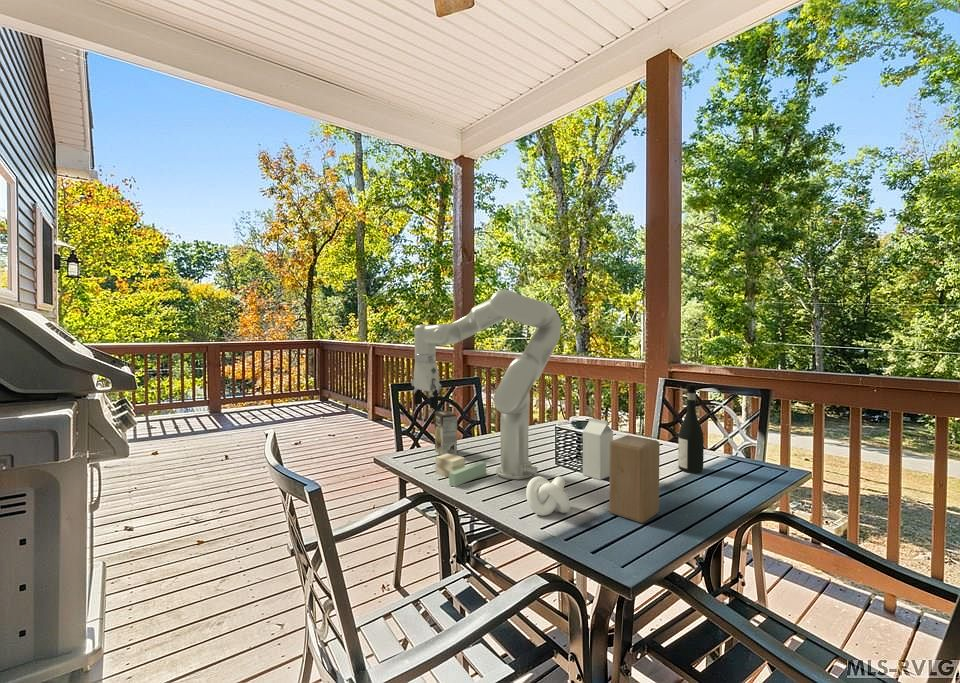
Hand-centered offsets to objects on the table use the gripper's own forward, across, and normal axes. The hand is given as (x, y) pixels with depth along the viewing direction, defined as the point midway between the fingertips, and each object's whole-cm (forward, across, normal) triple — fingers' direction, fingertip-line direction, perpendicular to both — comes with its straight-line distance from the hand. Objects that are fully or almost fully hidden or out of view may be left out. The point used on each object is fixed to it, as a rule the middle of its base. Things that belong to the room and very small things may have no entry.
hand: (425, 405), depth 166 cm
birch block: (+22, -14, 0) cm, 26 cm away
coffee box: (+22, +8, -15) cm, 28 cm away
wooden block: (+22, -73, -16) cm, 78 cm away
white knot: (+22, -56, -1) cm, 60 cm away
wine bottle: (+22, -68, -64) cm, 96 cm away
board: (+22, -22, -1) cm, 31 cm away
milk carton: (+22, -49, -36) cm, 64 cm away
